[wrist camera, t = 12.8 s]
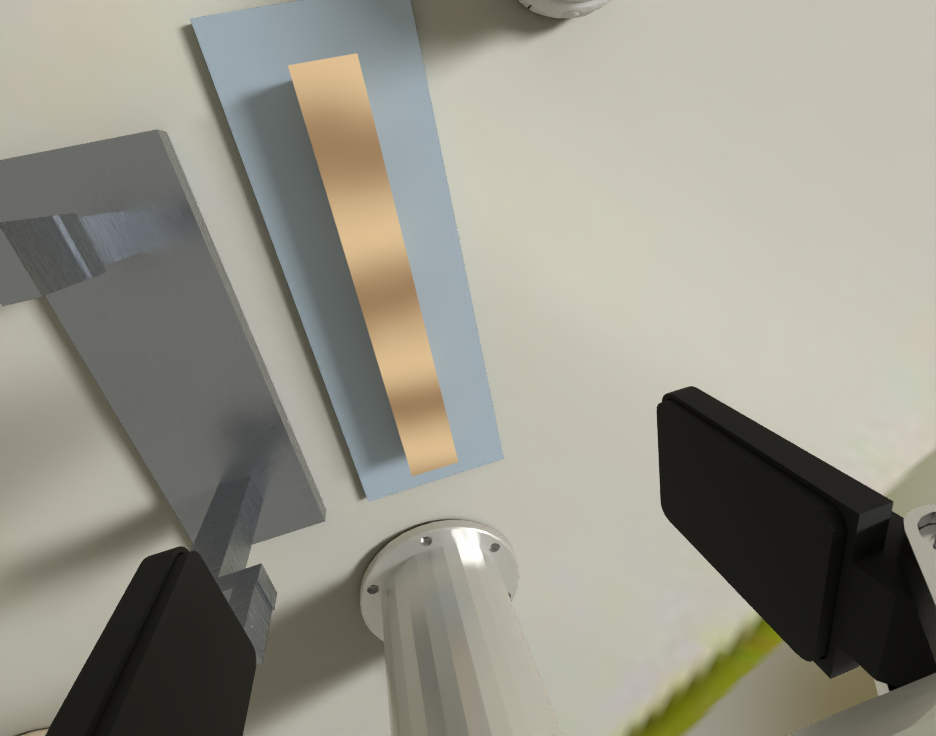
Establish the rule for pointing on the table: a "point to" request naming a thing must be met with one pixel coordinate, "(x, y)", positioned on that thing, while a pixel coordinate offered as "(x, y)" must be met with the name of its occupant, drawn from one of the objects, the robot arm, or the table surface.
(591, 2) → the mug
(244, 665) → the robot arm
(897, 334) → the table surface
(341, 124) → the oak rail
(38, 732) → the teacup with lid
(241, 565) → the stand
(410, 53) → the slate mat
